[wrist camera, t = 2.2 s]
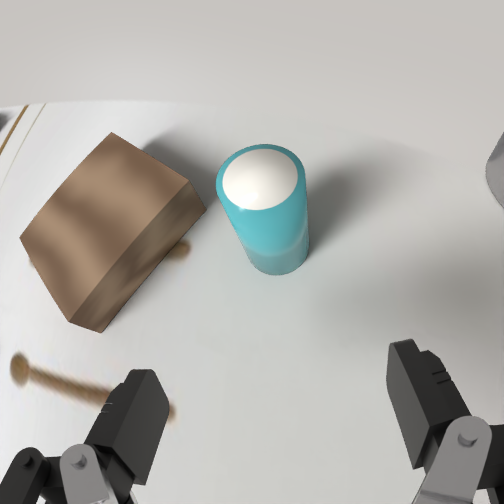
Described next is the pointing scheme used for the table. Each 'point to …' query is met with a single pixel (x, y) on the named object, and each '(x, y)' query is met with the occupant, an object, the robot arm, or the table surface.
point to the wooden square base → (108, 230)
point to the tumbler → (267, 206)
